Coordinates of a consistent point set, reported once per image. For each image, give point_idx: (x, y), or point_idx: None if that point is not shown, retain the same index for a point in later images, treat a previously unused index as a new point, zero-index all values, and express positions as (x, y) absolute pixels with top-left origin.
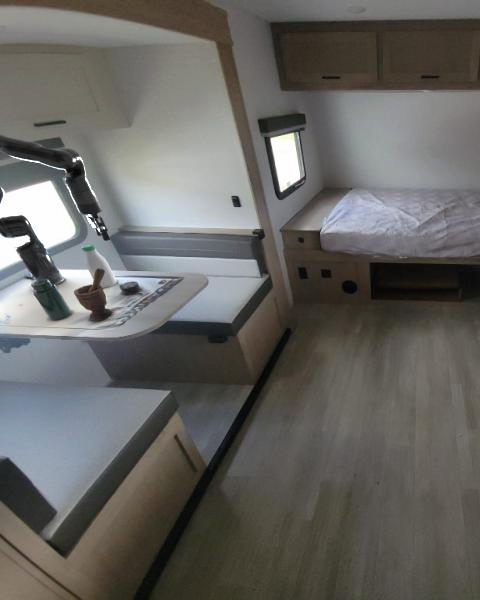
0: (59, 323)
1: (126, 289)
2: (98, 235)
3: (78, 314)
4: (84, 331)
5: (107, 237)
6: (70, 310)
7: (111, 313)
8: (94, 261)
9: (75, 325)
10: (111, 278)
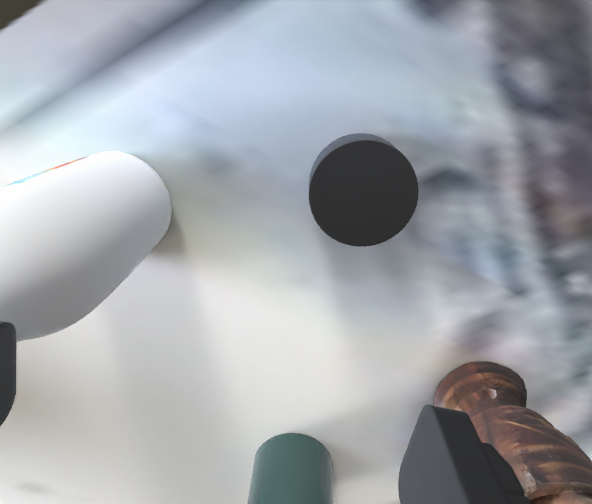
0: (359, 492)
1: (395, 231)
2: (6, 410)
3: (353, 431)
4: None
5: (510, 501)
6: (310, 447)
7: (521, 379)
8: (76, 305)
9: None
10: (153, 198)
